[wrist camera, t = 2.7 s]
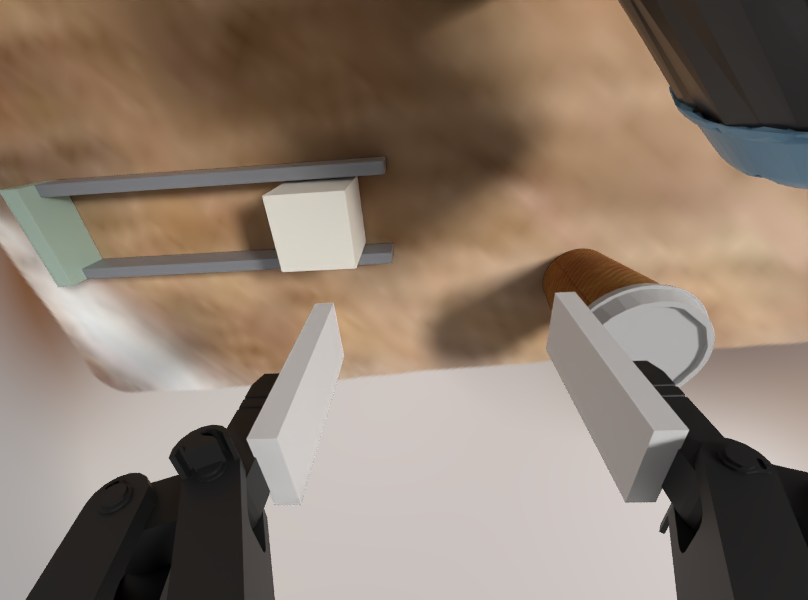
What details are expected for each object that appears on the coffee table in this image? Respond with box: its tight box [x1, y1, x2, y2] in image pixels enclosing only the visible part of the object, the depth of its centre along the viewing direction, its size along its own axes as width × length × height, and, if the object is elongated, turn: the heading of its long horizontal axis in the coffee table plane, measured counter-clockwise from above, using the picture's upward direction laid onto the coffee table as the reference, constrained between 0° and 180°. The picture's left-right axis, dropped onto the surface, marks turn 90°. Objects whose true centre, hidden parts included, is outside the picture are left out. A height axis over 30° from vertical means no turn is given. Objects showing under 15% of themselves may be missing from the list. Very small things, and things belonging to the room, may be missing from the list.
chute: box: [0, 156, 394, 287], centre depth 31 cm, size 9×30×4 cm, turn 94°
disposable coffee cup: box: [543, 249, 715, 387], centre depth 29 cm, size 10×10×12 cm
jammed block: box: [262, 176, 366, 272], centre depth 29 cm, size 6×6×6 cm
